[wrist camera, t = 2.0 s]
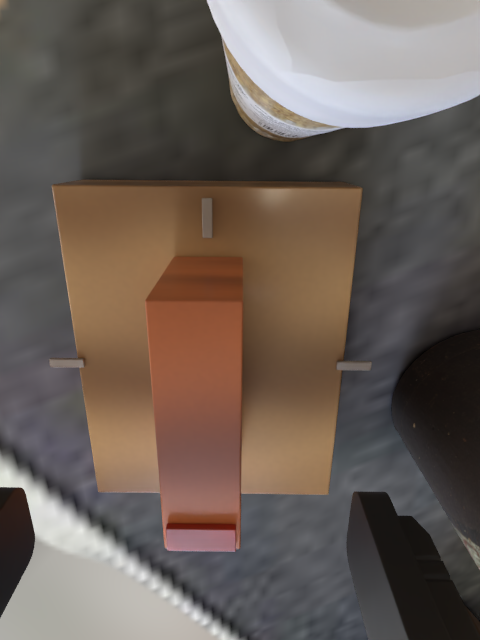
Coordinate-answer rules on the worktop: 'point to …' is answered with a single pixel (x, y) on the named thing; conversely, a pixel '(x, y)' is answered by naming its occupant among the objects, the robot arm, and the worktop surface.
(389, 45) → the sprinkles bottle
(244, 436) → the holder base
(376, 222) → the worktop surface
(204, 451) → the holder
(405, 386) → the container
